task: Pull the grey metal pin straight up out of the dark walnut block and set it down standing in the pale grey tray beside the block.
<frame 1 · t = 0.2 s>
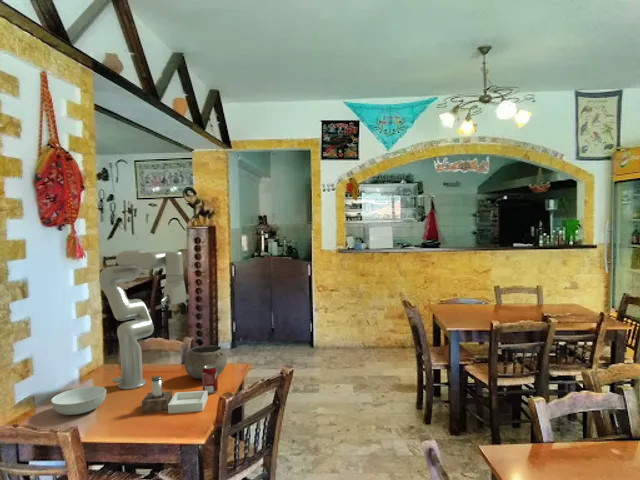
hand: (176, 316, 202), 37 cm above the table, tool pointing down, fingers open, 9 cm apart
soda can: (210, 392, 208), on the table
walnut block: (157, 407, 191), on the table
serving bowl: (80, 411, 191), on the table
grey tray: (188, 405, 192), on the table
clay pot: (206, 377, 228), on the table
metal pin: (157, 392, 191), in the walnut block
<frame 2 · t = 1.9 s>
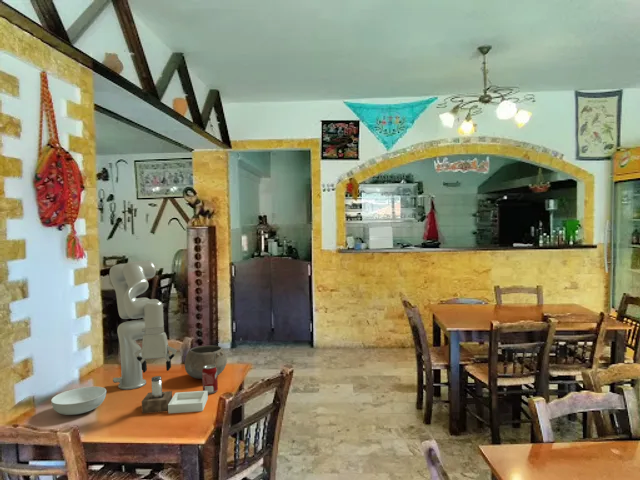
hand: (156, 370, 190), 16 cm above the table, tool pointing down, fingers open, 9 cm apart
nothing on the table moved.
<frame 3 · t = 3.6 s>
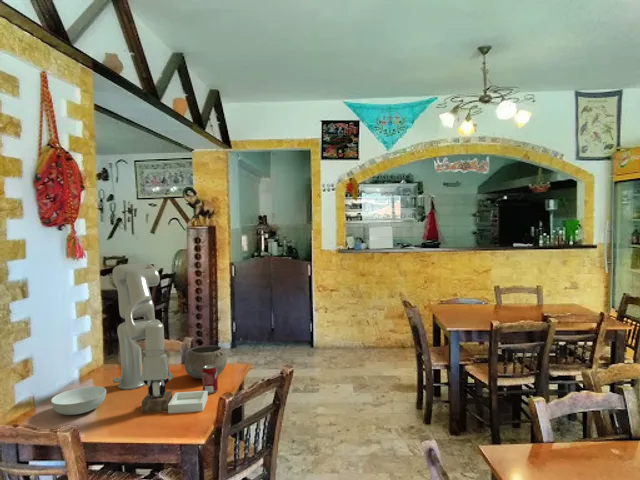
hand: (157, 394, 191), 6 cm above the table, tool pointing down, fingers closed on metal pin, 4 cm apart
metal pin: (157, 392, 191), in the walnut block, touching gripper
everything else where it was.
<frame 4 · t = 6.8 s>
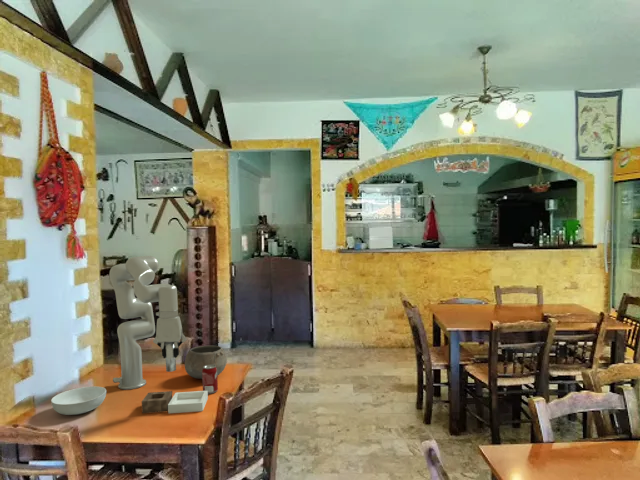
hand: (170, 356, 191), 22 cm above the table, tool pointing down, fingers closed on metal pin, 4 cm apart
metal pin: (170, 355, 191), point 22 cm above the table, touching gripper
everything else where it was.
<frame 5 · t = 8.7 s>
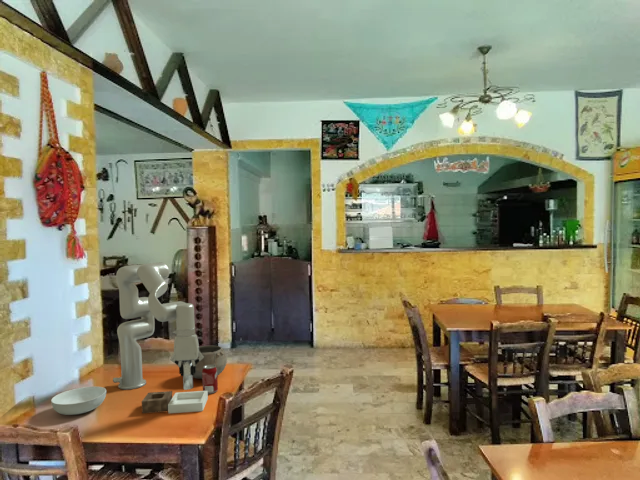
hand: (187, 374, 192), 14 cm above the table, tool pointing down, fingers closed on metal pin, 4 cm apart
metal pin: (187, 373, 192), point 14 cm above the table, touching gripper
everything else where it was.
when the fingers open (9 cm above the table, at t = 10.3 s): metal pin drops 2 cm, resting on grey tray.
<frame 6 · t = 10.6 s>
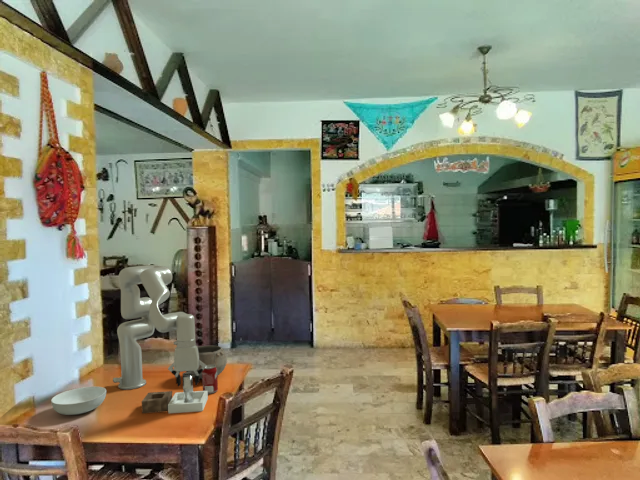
hand: (187, 384, 192), 9 cm above the table, tool pointing down, fingers open, 6 cm apart
metal pin: (188, 388, 192), in the grey tray, point 8 cm above the table
everything else where it was.
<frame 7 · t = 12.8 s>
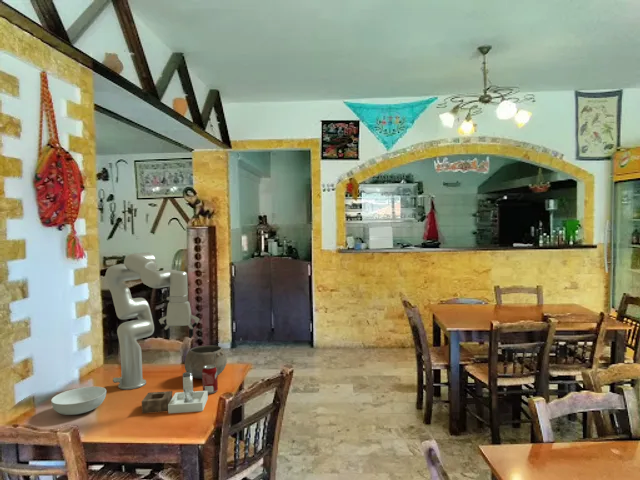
hand: (179, 337, 198), 28 cm above the table, tool pointing down, fingers open, 9 cm apart
nothing on the table moved.
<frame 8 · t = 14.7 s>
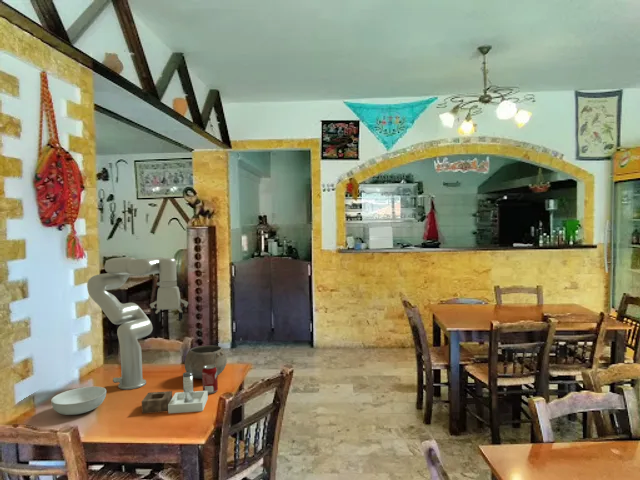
hand: (169, 320, 209), 33 cm above the table, tool pointing down, fingers open, 9 cm apart
nothing on the table moved.
at the end: metal pin inside the target area on the grey tray (0.1 cm from its centre), point 7.5 cm above the grey tray's base; the gripper is holding nothing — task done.
